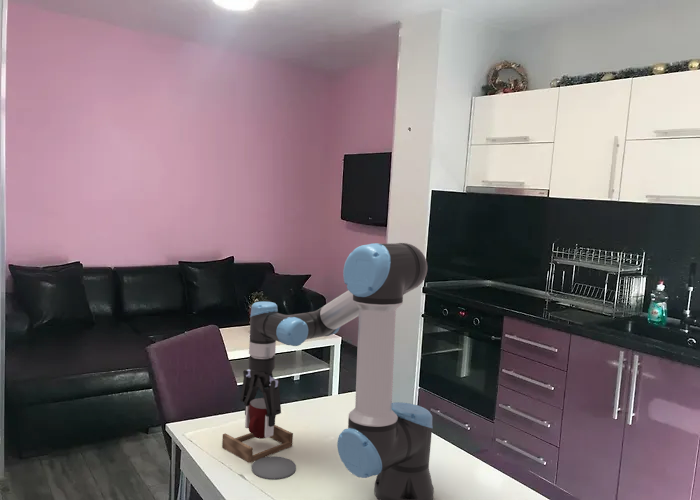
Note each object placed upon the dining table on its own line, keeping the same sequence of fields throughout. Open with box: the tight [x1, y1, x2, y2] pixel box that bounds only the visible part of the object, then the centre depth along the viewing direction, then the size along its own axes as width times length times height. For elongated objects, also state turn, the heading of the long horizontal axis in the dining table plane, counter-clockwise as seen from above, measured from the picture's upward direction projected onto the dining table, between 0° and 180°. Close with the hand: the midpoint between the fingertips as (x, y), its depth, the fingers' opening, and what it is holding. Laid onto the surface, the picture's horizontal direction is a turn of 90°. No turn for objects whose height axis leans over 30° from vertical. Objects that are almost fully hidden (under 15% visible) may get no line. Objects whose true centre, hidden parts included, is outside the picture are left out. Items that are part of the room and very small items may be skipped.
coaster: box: [251, 455, 297, 481], centre depth 156 cm, size 12×12×1 cm
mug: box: [248, 397, 277, 440], centre depth 167 cm, size 11×8×10 cm
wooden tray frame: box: [221, 424, 294, 464], centre depth 168 cm, size 13×16×4 cm
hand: (259, 431), depth 167 cm, fingers closed on mug, 8 cm apart
